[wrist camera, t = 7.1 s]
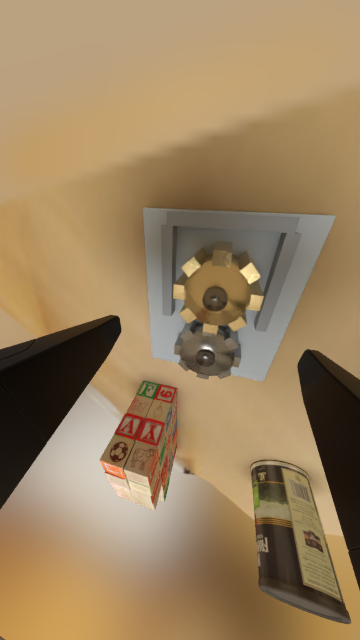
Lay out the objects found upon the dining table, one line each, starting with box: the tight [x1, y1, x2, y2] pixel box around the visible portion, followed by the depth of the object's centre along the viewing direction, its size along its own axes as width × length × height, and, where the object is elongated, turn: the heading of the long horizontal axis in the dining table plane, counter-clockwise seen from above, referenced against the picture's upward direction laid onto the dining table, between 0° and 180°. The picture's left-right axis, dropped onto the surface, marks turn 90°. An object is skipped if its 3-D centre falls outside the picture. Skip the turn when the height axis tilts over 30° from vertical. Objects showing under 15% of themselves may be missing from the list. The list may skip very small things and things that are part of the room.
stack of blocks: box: [100, 381, 177, 510], centre depth 30 cm, size 21×6×12 cm, turn 0°
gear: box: [174, 320, 241, 379], centre depth 20 cm, size 7×7×3 cm
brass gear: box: [173, 241, 264, 334], centre depth 15 cm, size 7×7×5 cm
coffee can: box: [251, 460, 351, 624], centre depth 29 cm, size 10×10×14 cm
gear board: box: [143, 207, 336, 382], centre depth 19 cm, size 15×18×3 cm
